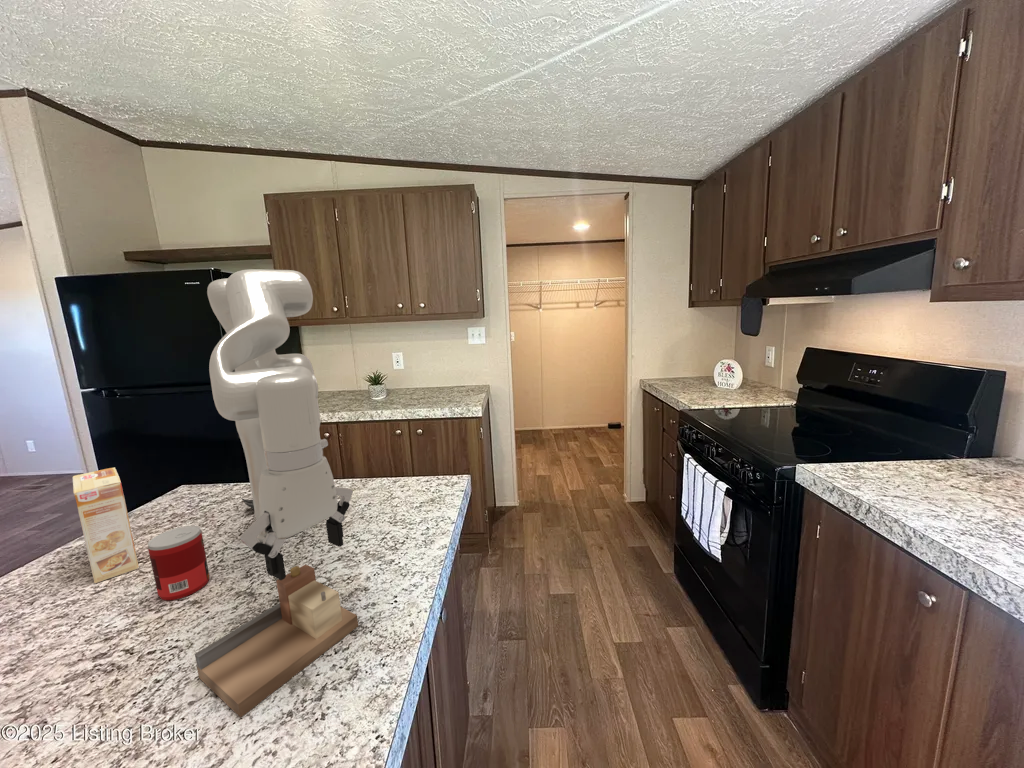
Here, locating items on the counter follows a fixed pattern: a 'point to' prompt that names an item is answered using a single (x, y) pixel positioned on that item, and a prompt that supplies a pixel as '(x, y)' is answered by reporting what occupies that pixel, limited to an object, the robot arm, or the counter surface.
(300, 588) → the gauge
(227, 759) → the counter surface
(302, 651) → the board
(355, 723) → the counter surface
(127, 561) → the coffeecake box
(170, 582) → the canned food
